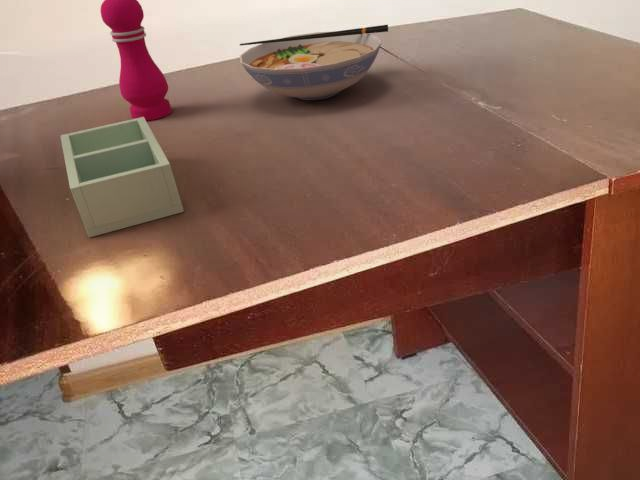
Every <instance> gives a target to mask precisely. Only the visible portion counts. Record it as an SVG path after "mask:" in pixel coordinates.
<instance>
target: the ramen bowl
mask: <svg viewBox="0 0 640 480" xmlns="http://www.w3.org/2000/svg"><path fill="white" fill-rule="evenodd" d="M387 32H389V24H380V25H375V26H367V27H357V28H351V29H343V30H333V31H317V32H311V33H302V34H296V35H289V36H285V37H280V38H274V39H267V40H259V41H252V42H244V43H239V46H250V45H255V46H252V47H250V48H248V49H246V51H244V52H243V53H241V54H240V55H239V62H240V64H241V65H242V67H243V68H244V70H245V71H246V72H247V73H248V75H249V76H251V78H252V79H253V80H254V81H256V83H258V84H259V85H260V86H262V87H263V88H264V89H265V88H266V89H268V90H269V91H272V92H274V93H276V94H278V95H281V96H286V97H292V98H296V99H298V100H302V101H319V100H320V101H321V100H325V99H328V98H332V97H335V96H336V95H339V94H340V92H342V91H343V90H345V89H347V88H349V87H351V86H354V85H355V84H356V83H358V82H359V81H360V80H361V79H363V78H364V77H365V75H367V73H368V72H369V70H370V68H371V67H372V65H373V64H374V62H375V60H376V58H377V56H378V54H379V52H380V49H381V45H382V41H381V39H380V38H379V37H378V36H377V35H374V34H376V33H377V34H379V33H387Z"/></svg>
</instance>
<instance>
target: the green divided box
mask: <svg viewBox="0 0 640 480" xmlns="http://www.w3.org/2000/svg"><path fill="white" fill-rule="evenodd" d="M59 138H60V142H61V147H62V153H63V158H64V163H65V169H66V175H67V181H68V185H69V190H70V193H71V195H72V197H73V201H74V202H75V206H76V208H77V211H78V214H79V216H80V219H81V221H82V224H83V227H84V229H85V232H86V235H87V237H88V239H89V238H90V239H91V238H93V237H97V236H101V235H104V234H108V233H111V232H115V231H119V230H122V229H126V228H129V227H134V226H136V225H141V224H145V223H148V222H152V221H155V220H158V219H162V218H166V217H169V216H173V215H177V214H182V213H184V212H185V210H184V207H183V204H182V200H181V196H180V193H179V189H178V187H177V183H176V180H175V176H174V173H173V169H172V166H171V163H170V162H169V160H168V158H167V155H165V152H164V151H163V149H162V147H161V145H160V144H159V141H158V140H157V138H156V136H155V134H154V133H153V130H152V129H151V127H150V125H149V123H148V121H146V120H145V118H144V117H140V118H136V119H132V118H131V119H127V120H122V121H119V122H113V123H109V124H105V125H101V126H95V127H92V128H87V129H83V130H78V131H73V132H69V133H64V134H60V137H59Z"/></svg>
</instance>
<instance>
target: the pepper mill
mask: <svg viewBox="0 0 640 480" xmlns="http://www.w3.org/2000/svg"><path fill="white" fill-rule="evenodd" d="M144 14H145V13H144V10H143V7H142V5H141V4H140V2H139V1H138V0H103V1H102V3H101V4H100V17H101V19H102V22H103V23H104V24H105V26H107V27H108V28H109V29H110V30H111V31H110V32H109V34H110V35H111V40H112V42H114V43H115V44H116V47H117V49H118V55H119V59H120V60H119V61H120V70H119V80H118V82H119V90H120V95H121V97H122V98H123V99H124V100H125V101H126V102H128V103H129V104H131V105H130V106H129V108H128V109H129V113H130V116H131V119H136V118H140V117H144V118H145V120H146V122H148V121H150V122H151V121H156V120H160V119H162V118H164V117H167V116H169V115H170V114H171V113H172V111H173V110H172V107H171V106H172V105H171V102H170V100H168V99H167V98H165V97H166V96H167V94H168V91H169V85H168V82H167V79H166V76H165V75H164V74H163V72H162V70H161V69H160V68H159V67H158V65H157V64H156V62H155V61H154V60H153V58H152V56H151V54H150V53H149V49H148V47H147V45H146V40H145V37H146V36H147V33H146V31H145V26H143V25H142V22H143V21H144V17H145V15H144Z"/></svg>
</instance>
